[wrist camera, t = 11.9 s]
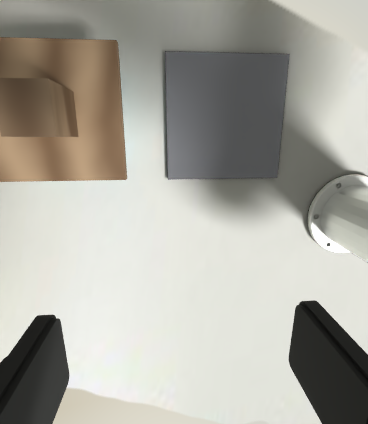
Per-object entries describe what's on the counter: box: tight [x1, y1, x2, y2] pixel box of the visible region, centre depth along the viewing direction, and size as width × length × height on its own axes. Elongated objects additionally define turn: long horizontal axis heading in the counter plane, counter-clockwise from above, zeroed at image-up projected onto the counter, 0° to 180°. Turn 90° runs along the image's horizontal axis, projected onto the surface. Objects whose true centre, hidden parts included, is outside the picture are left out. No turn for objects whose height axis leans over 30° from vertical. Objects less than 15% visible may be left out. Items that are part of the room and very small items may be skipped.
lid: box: [0, 37, 127, 182], centre depth 24 cm, size 14×14×7 cm
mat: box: [165, 51, 289, 179], centre depth 35 cm, size 16×16×1 cm
